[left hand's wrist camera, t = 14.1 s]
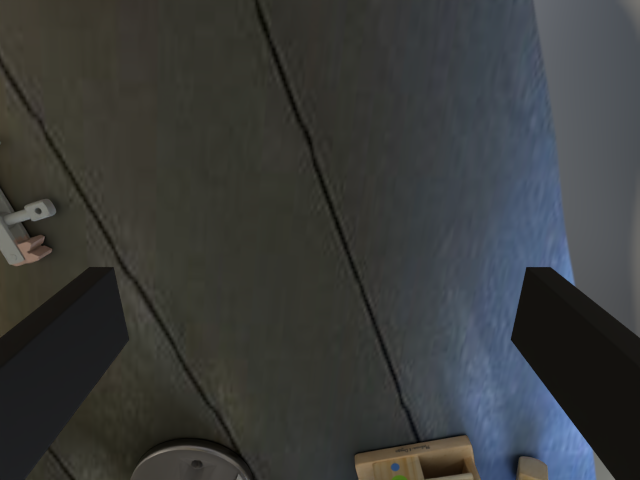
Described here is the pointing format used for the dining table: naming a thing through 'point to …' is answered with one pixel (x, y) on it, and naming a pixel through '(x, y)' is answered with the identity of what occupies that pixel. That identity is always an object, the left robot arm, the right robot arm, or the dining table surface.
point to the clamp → (22, 231)
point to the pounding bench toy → (435, 462)
